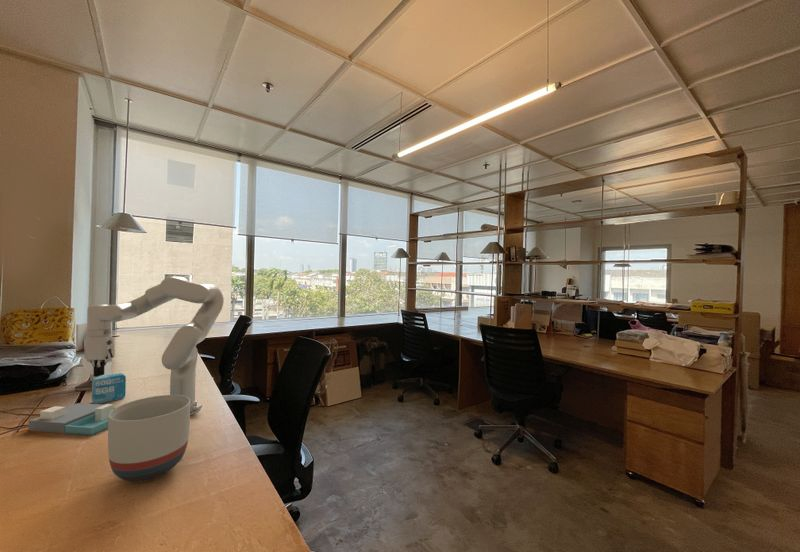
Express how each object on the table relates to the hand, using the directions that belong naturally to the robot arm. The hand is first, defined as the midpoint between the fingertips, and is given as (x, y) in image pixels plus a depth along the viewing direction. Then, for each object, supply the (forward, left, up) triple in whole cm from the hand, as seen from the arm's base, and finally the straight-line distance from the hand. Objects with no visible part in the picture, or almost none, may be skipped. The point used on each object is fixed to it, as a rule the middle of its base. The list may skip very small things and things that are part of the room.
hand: (99, 375), depth 141 cm
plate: (+7, +5, -19) cm, 20 cm away
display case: (+42, -34, -19) cm, 58 cm away
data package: (+15, -18, -19) cm, 30 cm away
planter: (-56, +33, -19) cm, 67 cm away
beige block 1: (+10, +9, -15) cm, 20 cm away
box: (-7, +5, -19) cm, 20 cm away
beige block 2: (-2, +1, -15) cm, 16 cm away
